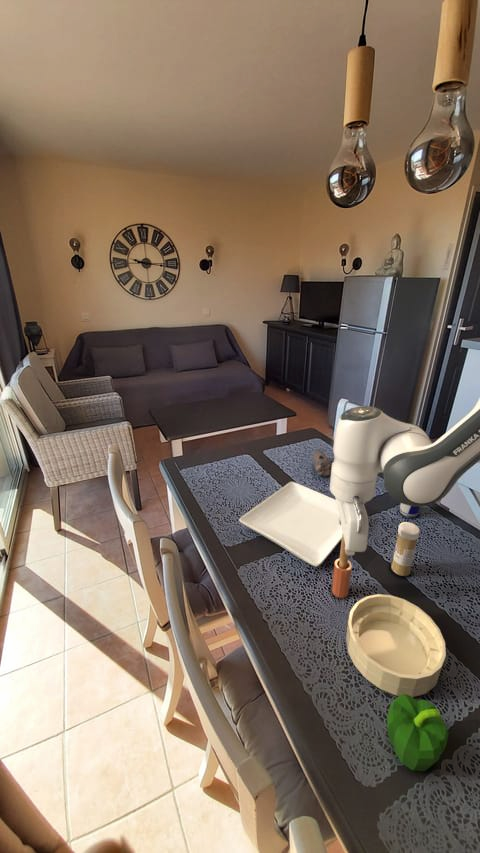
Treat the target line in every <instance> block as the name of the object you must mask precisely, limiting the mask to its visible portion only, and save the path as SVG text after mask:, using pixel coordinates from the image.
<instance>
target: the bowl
mask: <svg viewBox="0 0 480 853" xmlns="http://www.w3.org/2000/svg"><path fill="white" fill-rule="evenodd" d="M346 627H347V628H346V637H345V643H346V648H347V653H348V655H349V658H350V659H351V661H352V663H353V665H354V667H355V668H356V669H357V670H358V672H360V674H361V675H362V676H363V678H364V679H366V681H368V682H369V683H371V684H372V685H374V686H375V687H377V688H378V689H380V690H381V691H383V692H386V693H388V694H392V695H394V696H397V697H399V696H400V695H401V694H407V695H410V696H411V697H413V698H414V697H419V696H422V695H426V694H427V693H429V692H430V691H431V690H433V689H434V687H436V685H437V684H438V681H439V679H440V676H441V673H442V670H443V667H444V663H445V660H446V657H447V651H446V650H447V648H446V641H445V639H444V636H443V634H442V632H441V629H440V628H439V626H438V625H437V624H436V622H435V621H434V620H433V619H432V617H431V616H430V615H429V614H428V613H426V612H425V611H424V610H423V609H421V608H420V606H417V605H416V604H414V603H412V602H410V601H408V600H406V599H404V598H401V597H398V596H394V595H391V594H380V593H378V594H377V593H376V594H372V595H367V596H364V597H363V598H361V599H360V600H358V601H357V602H355V604H354V605H353V606H352V608H351V609H350V611H349V616H348V621H347V626H346Z"/></svg>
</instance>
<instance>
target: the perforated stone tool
mask: <svg viewBox="0 0 480 853" xmlns="http://www.w3.org/2000/svg"><path fill="white" fill-rule="evenodd" d="M311 461H312V464H313V467H314V470H315V472H316V474H317V475H318V476H319V477H326V478H327V477H331V468H332V464H331V462H330V460H329V458H328V457H327V455H326V454H325V453H324V452H323V451H322V450H319V449H316V450H314V452H313V453H312V460H311Z"/></svg>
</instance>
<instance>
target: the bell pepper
mask: <svg viewBox="0 0 480 853" xmlns="http://www.w3.org/2000/svg"><path fill="white" fill-rule="evenodd" d="M386 726H387V733H388V740H389V744H390V745H391V746H392V747H393V748H394V752H395V755H396V757H397V758H398V759H399V761H400V763H401V764H402V765H403V766H405V767H406V768H408V769H409V770H411V771H415V772H425V771H427V770H428V769H429V768H431V767H432V766H433V765H434V764H436V763H437V762H438V761H439V760H440V757H441V755H442V754H443V753H444V752H445V749H446V747H447V743H448V740H449V738H448V737H449V735H450V734H449V730H448V728H447V726H446V724H445V722H444V720H443V718H442V716H441V713H440V710H439V709H437V707H436V706H435V704H433V703H431V702H429V701H427V700H425V699H420V700H418V701H417V700H416V699H415V698H414V697H411V696H410V695H407V694H401V695H400V696H397V697H395V699H394V700H392V702H390V706H389V708H388V712H387V716H386Z"/></svg>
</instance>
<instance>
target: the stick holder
mask: <svg viewBox="0 0 480 853" xmlns="http://www.w3.org/2000/svg"><path fill="white" fill-rule="evenodd" d="M339 560H340V557H339V558H337V559H335V560H334V563H333V573H332V581H331V592H332V594H333V596H335V597H336V598H339V599H345V598H347V597H348V596H349V593H350V587H351V586H350V585H351V577H352V572H353V565H352V563H351V561H350V560H349V559H348V564H347V569H342V568H340V567H339Z"/></svg>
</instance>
